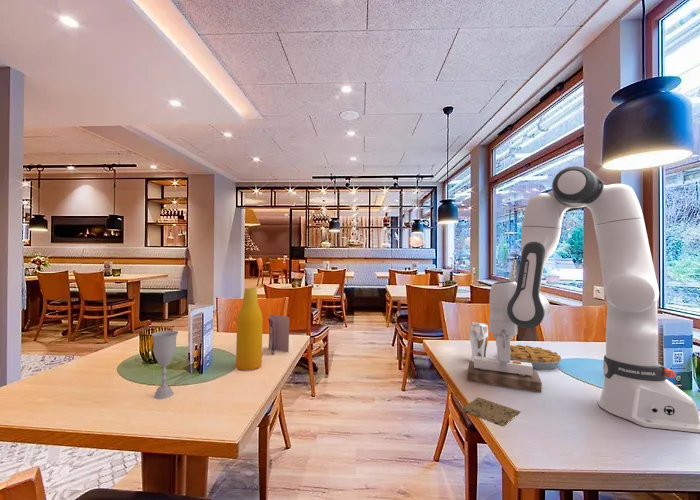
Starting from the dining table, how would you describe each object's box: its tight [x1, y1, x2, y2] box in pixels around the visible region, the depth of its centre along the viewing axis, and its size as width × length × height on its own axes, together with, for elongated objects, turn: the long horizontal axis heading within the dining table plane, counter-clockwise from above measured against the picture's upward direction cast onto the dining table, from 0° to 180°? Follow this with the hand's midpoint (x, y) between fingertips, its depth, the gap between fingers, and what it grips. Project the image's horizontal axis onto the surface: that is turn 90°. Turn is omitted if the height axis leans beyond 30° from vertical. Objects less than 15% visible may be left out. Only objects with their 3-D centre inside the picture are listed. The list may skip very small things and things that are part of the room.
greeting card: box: [267, 314, 290, 356], centre depth 142 cm, size 11×7×15 cm, turn 25°
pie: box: [510, 344, 562, 371], centre depth 134 cm, size 22×22×5 cm
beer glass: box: [469, 322, 489, 362], centre depth 133 cm, size 7×7×15 cm
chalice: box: [151, 330, 179, 400], centre depth 96 cm, size 7×7×18 cm
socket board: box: [466, 361, 543, 393], centre depth 113 cm, size 22×12×3 cm, turn 67°
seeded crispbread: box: [460, 397, 521, 427], centre depth 90 cm, size 12×12×1 cm
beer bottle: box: [235, 287, 264, 372], centre depth 122 cm, size 9×9×29 cm
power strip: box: [474, 356, 534, 376], centre depth 113 cm, size 18×4×6 cm, turn 67°
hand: (502, 368), depth 113 cm, fingers closed on power strip, 4 cm apart
